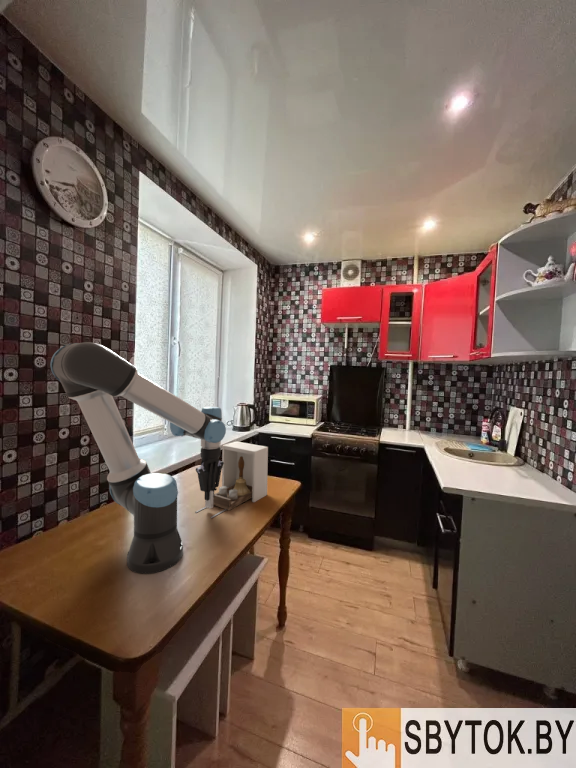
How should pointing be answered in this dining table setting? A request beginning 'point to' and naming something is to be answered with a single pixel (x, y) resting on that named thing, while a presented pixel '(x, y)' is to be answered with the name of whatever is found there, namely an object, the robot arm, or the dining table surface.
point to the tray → (228, 501)
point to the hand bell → (241, 480)
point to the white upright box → (245, 467)
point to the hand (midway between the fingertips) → (209, 507)
